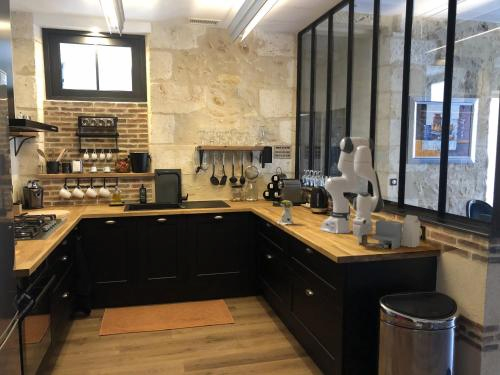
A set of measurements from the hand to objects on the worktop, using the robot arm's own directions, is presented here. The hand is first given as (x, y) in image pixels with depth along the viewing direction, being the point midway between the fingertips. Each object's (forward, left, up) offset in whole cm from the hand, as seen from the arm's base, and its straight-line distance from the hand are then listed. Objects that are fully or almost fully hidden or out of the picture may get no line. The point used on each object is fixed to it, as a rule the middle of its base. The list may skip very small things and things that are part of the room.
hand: (362, 241), depth 248 cm
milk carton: (+24, +16, -2) cm, 29 cm away
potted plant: (-75, +24, -2) cm, 79 cm away
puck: (+12, -1, -2) cm, 12 cm away
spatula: (+7, +1, -2) cm, 7 cm away
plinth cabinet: (+12, +7, -2) cm, 14 cm away
